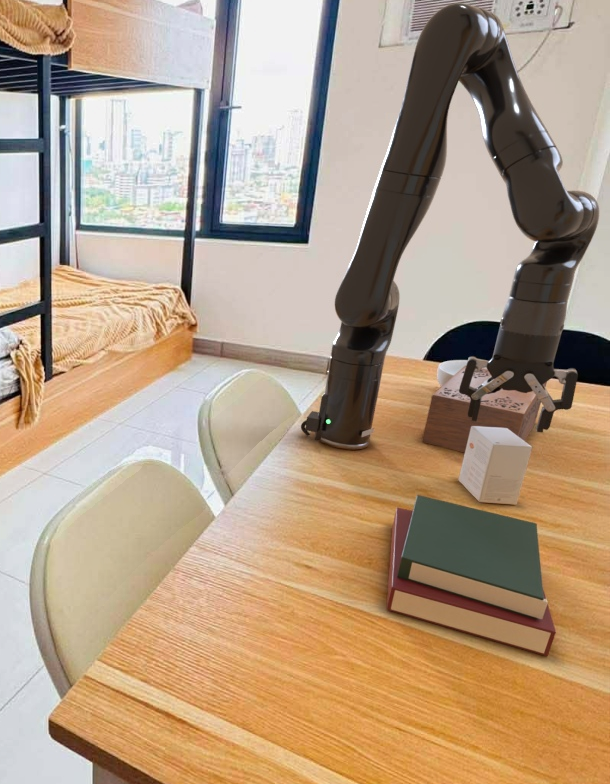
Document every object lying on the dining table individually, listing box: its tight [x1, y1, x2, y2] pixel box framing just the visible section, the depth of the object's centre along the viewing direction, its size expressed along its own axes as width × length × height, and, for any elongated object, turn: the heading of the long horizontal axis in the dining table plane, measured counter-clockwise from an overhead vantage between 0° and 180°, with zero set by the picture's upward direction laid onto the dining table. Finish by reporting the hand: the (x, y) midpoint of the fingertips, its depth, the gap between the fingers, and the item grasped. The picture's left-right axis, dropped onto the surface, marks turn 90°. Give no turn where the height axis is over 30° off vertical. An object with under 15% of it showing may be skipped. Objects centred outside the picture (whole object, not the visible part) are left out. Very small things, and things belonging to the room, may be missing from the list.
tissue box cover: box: [421, 365, 548, 454], centre depth 127 cm, size 26×14×10 cm, turn 135°
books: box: [386, 494, 557, 657], centre depth 82 cm, size 16×22×6 cm
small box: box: [458, 426, 533, 506], centre depth 104 cm, size 8×6×10 cm
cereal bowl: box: [436, 359, 487, 387], centre depth 146 cm, size 17×17×7 cm
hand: (505, 425), depth 101 cm, fingers open, 8 cm apart
